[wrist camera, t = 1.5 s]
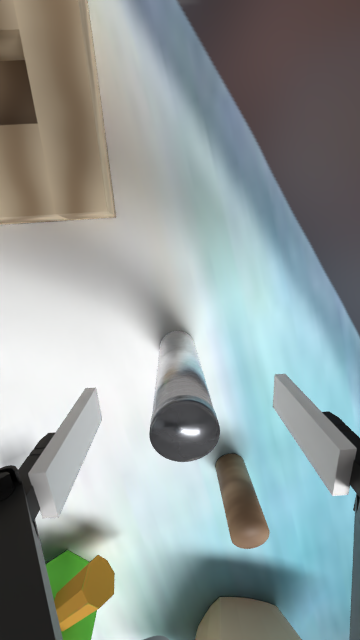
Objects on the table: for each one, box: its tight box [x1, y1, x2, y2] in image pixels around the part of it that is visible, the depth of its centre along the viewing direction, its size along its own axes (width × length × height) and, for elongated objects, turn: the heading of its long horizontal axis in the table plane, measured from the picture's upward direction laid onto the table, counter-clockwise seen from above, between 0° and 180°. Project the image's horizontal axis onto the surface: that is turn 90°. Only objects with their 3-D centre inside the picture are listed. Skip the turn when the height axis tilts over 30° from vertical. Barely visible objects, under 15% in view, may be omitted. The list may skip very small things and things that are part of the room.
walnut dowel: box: [215, 454, 269, 549], centre depth 27 cm, size 4×4×8 cm
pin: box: [150, 331, 220, 462], centre depth 19 cm, size 4×4×13 cm
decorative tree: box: [46, 550, 115, 640], centre depth 30 cm, size 11×12×30 cm
